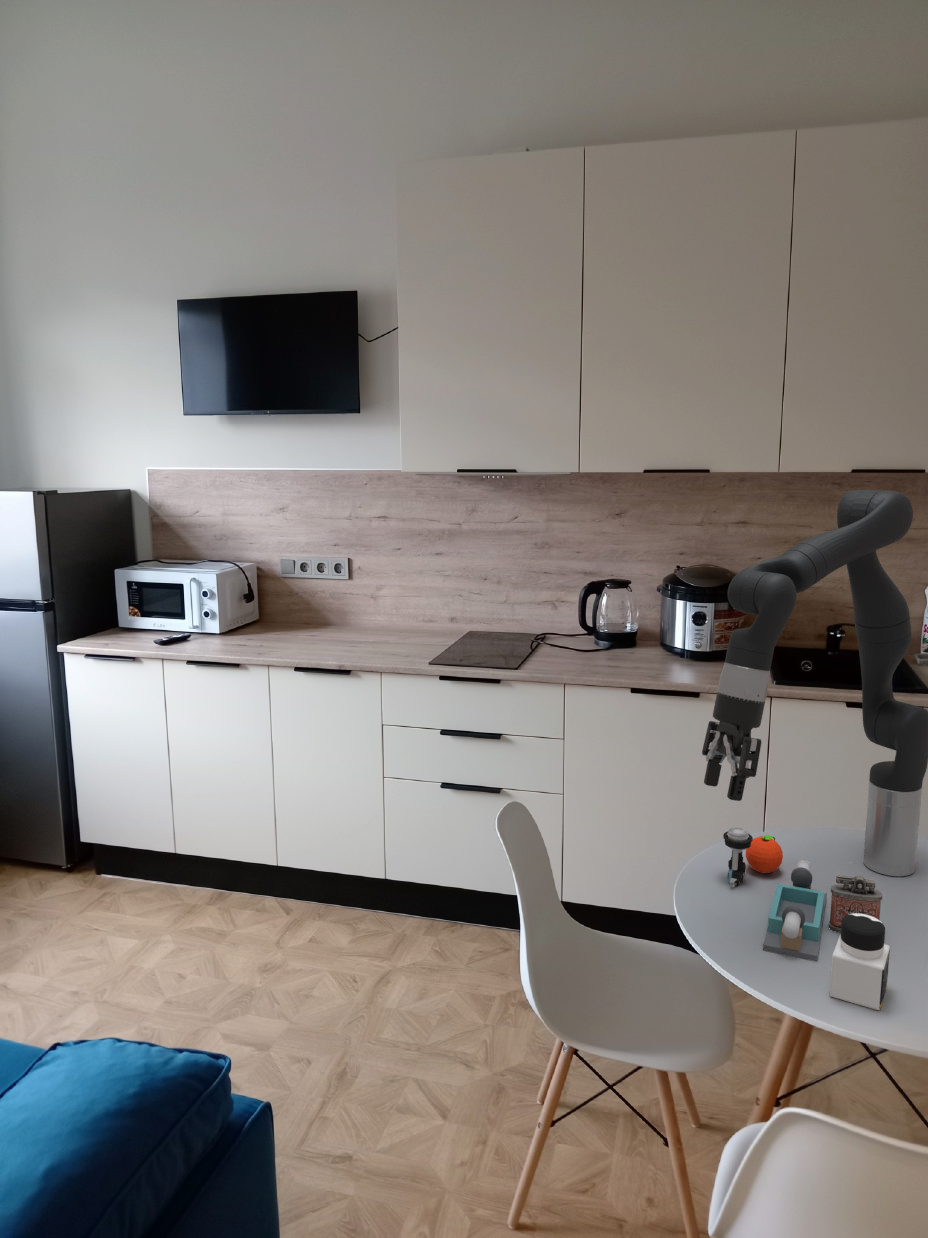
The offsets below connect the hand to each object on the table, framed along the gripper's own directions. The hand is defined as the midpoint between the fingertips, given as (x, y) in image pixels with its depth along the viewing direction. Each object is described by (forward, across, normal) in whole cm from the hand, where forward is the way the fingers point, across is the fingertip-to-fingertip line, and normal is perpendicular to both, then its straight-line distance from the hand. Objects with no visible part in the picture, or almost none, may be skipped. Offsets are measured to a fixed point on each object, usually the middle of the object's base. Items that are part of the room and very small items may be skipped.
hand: (721, 792), depth 145 cm
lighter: (+21, +2, -30) cm, 37 cm away
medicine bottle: (+25, -13, -22) cm, 35 cm away
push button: (+22, +22, -18) cm, 36 cm away
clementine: (+20, +26, -26) cm, 41 cm away
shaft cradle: (+22, +7, -22) cm, 32 cm away
